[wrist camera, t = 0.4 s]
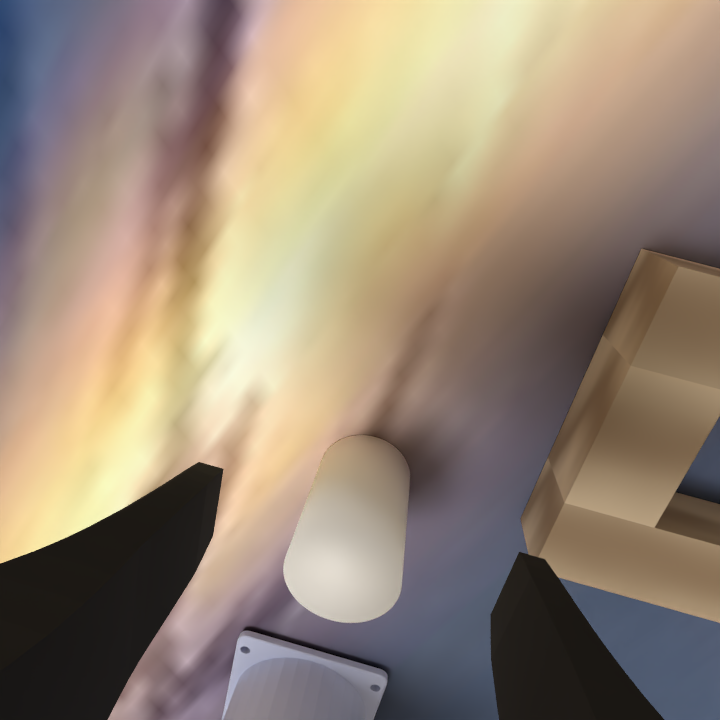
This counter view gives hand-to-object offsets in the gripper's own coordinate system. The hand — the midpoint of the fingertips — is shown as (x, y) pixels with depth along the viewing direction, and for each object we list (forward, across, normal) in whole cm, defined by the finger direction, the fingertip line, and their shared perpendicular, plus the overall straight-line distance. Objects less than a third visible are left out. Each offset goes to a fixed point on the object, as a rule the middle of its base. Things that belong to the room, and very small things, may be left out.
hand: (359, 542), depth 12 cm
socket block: (+9, -13, -1) cm, 16 cm away
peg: (+10, 0, +5) cm, 11 cm away
